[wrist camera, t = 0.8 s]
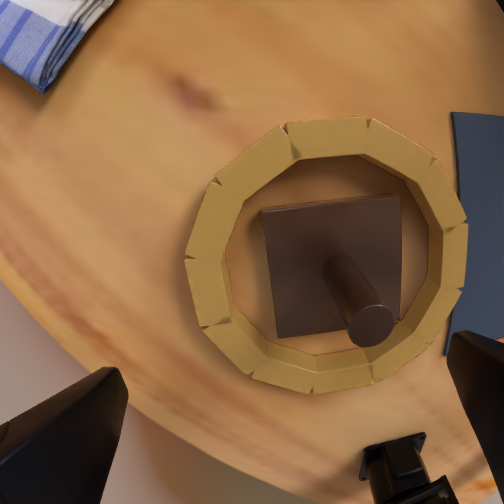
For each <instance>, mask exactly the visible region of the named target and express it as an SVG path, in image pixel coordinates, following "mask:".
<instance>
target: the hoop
mask: <svg viewBox="0 0 504 504" xmlns="http://www.w3.org/2000/svg"><path fill="white" fill-rule="evenodd" d="M345 155H357V156H359V157H361V158H363V159H365V160H367V161H369V162H371V163H373V164H375V165H377V166H379V167H381V168H383V169H385V170H386V171H388V172H390V173H392V174H394V175H396V176H397V177H399V178H401V179H403V180H404V182H405V183H406V185H407V187H408V188H409V190H410V192H411V194H412V195H413V197H414V199H415V201H416V203H417V204H418V206H419V208H420V210H421V212H422V214H423V215H424V217H425V219H426V221H427V223H428V225H429V241H428V270H427V277H426V279H425V281H424V283H423V285H422V287H421V288H420V290H419V292H418V294H417V296H416V297H415V299H414V301H413V303H412V305H411V306H410V308H409V310H408V311H407V313H406V315H405V317H404V318H403V320H401V321H400V322H398V323H397V324H396V325H394V327H393V330H392V332H391V334H390V335H389V336H388V338H387V339H386V340H385V341H383V342H382V343H380V344H378V345H376V346H373V347H362V348H359V349H353V350H347V351H341V352H335V353H329V354H322V355H315V356H313V355H310V354H307V353H304V352H301V351H297V350H294V349H291V348H288V347H285V346H282V345H279V344H276V343H273V342H270V341H268V340H267V339H266V338H265V337H264V336H263V335H262V334H261V333H260V332H259V331H258V330H257V329H256V327H255V326H254V325H253V324H252V323H251V322H250V321H249V320H248V319H247V318H246V316H245V315H244V314H243V313H242V312H241V311H240V310H239V309H238V308H237V306H236V305H235V304H234V300H233V295H232V289H231V284H230V279H229V273H228V268H227V262H226V257H225V249H226V246H227V244H228V241H229V239H230V236H231V234H232V231H233V229H234V226H235V223H236V221H237V218H238V216H239V213H240V211H241V208H242V206H243V203H244V201H245V200H247V199H248V198H249V197H251V196H252V195H253V194H254V193H256V192H257V191H258V190H260V189H261V188H262V187H263V186H265V185H266V184H267V183H269V182H270V181H271V180H273V179H274V178H275V177H277V176H278V175H279V174H281V173H282V172H283V171H285V170H286V169H287V168H289V167H290V166H291V165H293V164H294V163H295V162H297V161H298V160H304V159H313V158H323V157H334V156H345ZM433 156H434V154H433V153H431V152H430V151H428V150H426V149H425V148H423V147H422V146H420V145H418V144H417V143H415V142H414V141H412V140H410V139H409V138H407V137H405V136H404V135H402V134H400V133H398V132H397V131H395V130H393V129H391V128H390V127H388V126H386V125H384V124H382V123H381V122H379V121H377V120H375V119H373V118H371V119H368V120H366V117H365V116H357V117H339V118H325V119H312V120H302V121H292V122H286V123H285V125H284V130H283V128H282V127H281V126H280V125H278V126H277V127H276V128H274V129H273V130H272V131H270V132H269V133H268V134H266V135H265V136H264V137H262V138H261V139H260V140H258V141H257V142H256V143H254V144H253V145H252V146H250V147H249V148H248V149H247V150H245V151H244V152H243V153H241V154H240V155H239V156H238V157H236V158H235V159H234V160H233V161H231V162H230V163H229V164H228V165H226V166H225V167H224V168H223V169H221V170H220V171H219V172H218V173H216V174H215V178H216V179H214V180H212V181H210V182H209V185H208V188H207V190H206V193H205V196H204V198H203V201H202V204H201V207H200V209H199V212H198V215H197V218H196V221H195V224H194V226H193V229H192V232H191V235H190V238H189V241H188V244H187V247H186V250H185V253H184V254H185V255H188V256H187V257H186V258H185V260H184V264H185V268H186V273H187V277H188V282H189V286H190V290H191V294H192V299H193V303H194V307H195V311H196V315H197V319H198V323H199V326H200V327H202V326H204V328H203V331H202V332H203V333H204V334H205V335H206V336H207V337H208V338H209V339H210V340H211V341H212V342H213V343H214V344H215V345H216V346H217V347H218V348H219V349H220V350H221V351H222V352H223V353H224V354H225V355H226V356H227V357H228V358H229V359H230V360H231V361H232V362H233V363H234V364H235V365H236V366H237V367H238V368H239V369H240V370H241V371H242V372H243V373H244V374H245V375H248V374H249V373H251V378H253V379H256V380H259V381H262V382H266V383H269V384H272V385H276V386H279V387H283V388H286V389H290V390H293V391H297V392H301V393H305V394H309V393H310V391H311V390H313V394H321V393H328V392H334V391H340V390H346V389H351V388H357V387H362V386H367V385H372V381H373V378H374V379H375V381H376V382H379V381H380V380H382V379H384V378H385V377H387V376H388V375H390V374H391V373H393V372H394V371H396V370H397V369H399V368H400V367H402V366H403V365H405V364H406V363H408V362H409V361H410V360H412V359H413V358H415V357H416V356H417V355H419V354H420V353H422V352H423V351H424V350H426V349H427V347H426V345H425V344H424V343H427V344H431V343H432V342H433V340H434V339H435V337H436V335H437V334H438V332H439V331H440V329H441V327H442V326H443V324H444V323H445V321H446V319H447V318H448V316H449V314H450V312H451V311H452V309H453V307H454V306H455V304H456V302H457V300H458V298H459V297H460V295H461V293H462V291H460V290H459V289H458V288H461V287H464V280H465V270H466V258H467V242H468V224H467V223H465V222H463V221H465V220H466V219H467V217H466V215H465V212H464V210H463V208H462V206H461V204H460V201H459V199H458V197H457V195H456V193H455V191H454V189H453V187H452V185H451V183H450V181H449V179H448V177H447V175H446V173H445V171H444V169H443V167H442V165H441V163H440V162H439V160H438V159H432V158H433Z"/></svg>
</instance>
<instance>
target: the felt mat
mask: <svg viewBox="0 0 504 504" xmlns="http://www.w3.org/2000/svg"><path fill="white" fill-rule="evenodd" d="M451 116H452V123H453V131H454V140H455V150H456V163H457V180H458V199H459V201H460V204H461V206H462V208H463V210H464V212H465V215H466V217H467V219H466V220H465V221H463V222H465V223H467V224H468V242H467V258H466V270H465V280H464V287H461V288H458V289H459V290H460V291H462V293H461V295H460V297H459V298H458V300H457V302H456V304H455V306H454V307H453V309H452V311H451V316H450V322H449V329H448V334H447V340H446V345H445V350H444V355H445V356H447V354H448V349H449V344H450V340H451V336H452V334H453V333H454V332H457V331H461V330H469V331H472V332H474V333H477V334H480V335H483V336H485V337H488V338H491V339H494V340H496V339H498V338H501V337H504V117H502V116H493V115H484V114H474V113H462V112H451Z"/></svg>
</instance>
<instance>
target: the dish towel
mask: <svg viewBox="0 0 504 504" xmlns="http://www.w3.org/2000/svg"><path fill="white" fill-rule="evenodd" d="M113 2H114V0H0V64H2V65H4V66H5V67H6V68H8V69H9V70H10V71H12V72H13V73H15V74H16V75H18V76H19V77H21V78H23V79H24V80H25V81H26V82H28V83H29V84H30V85H31V86H33V87H34V88H35V89H36V90H37V91H39V92H40V93H41V94H45V93H46V92H47V91H48V89H49V88H50V87H51V85H52V84H53V82H54V80H55V79H56V77H57V75H58V73H59V71H60V70H61V68H62V66H63V64H64V63H65V61H66V60H67V59H68V57H69V56H70V54H71V53H72V51H73V50H74V48H75V47H76V45H77V44H78V43H79V41H80V40H81V39H82V37H83V36H84V35H85V33H86V31H87V30H88V29H89V28H90V27H91V26H92V25H93V23H95V22H96V21H97V20H98V19H99V18H100V16H101V15H102V14H103V13H104V12H105V11H106V10H107V9H108V8H109V7H110V6H111V4H112V3H113Z"/></svg>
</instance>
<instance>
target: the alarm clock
mask: <svg viewBox="0 0 504 504" xmlns="http://www.w3.org/2000/svg"><path fill="white" fill-rule="evenodd" d="M496 1H497V2H498V4H499V6H500V7H501V9H502V10H503V12H504V0H496Z"/></svg>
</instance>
